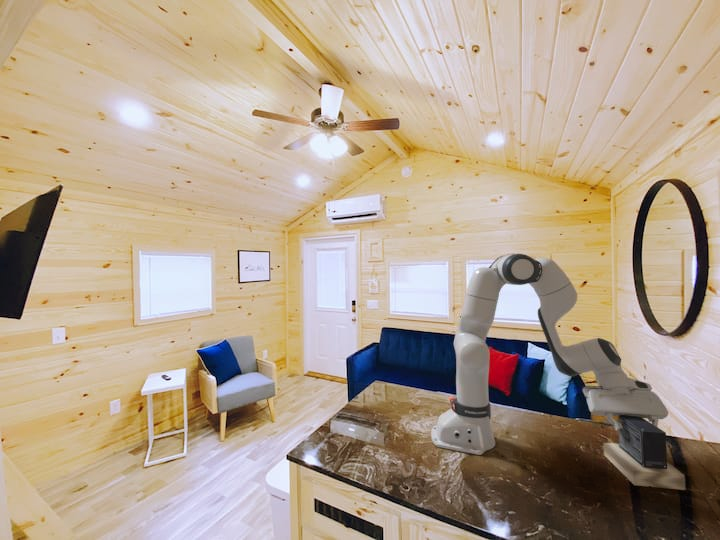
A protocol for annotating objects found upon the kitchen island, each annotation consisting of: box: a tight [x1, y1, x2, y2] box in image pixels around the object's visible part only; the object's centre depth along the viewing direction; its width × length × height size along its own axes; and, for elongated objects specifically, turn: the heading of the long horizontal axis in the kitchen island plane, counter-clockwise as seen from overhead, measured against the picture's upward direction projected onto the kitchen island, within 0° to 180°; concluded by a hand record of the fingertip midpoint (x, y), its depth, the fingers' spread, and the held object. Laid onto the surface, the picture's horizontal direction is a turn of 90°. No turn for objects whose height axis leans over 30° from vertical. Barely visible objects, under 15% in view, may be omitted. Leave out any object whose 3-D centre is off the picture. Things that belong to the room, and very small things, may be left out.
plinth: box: [603, 442, 686, 491], centre depth 88 cm, size 12×14×4 cm
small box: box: [617, 415, 668, 469], centre depth 88 cm, size 11×6×10 cm, turn 169°
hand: (637, 431), depth 89 cm, fingers open, 8 cm apart
